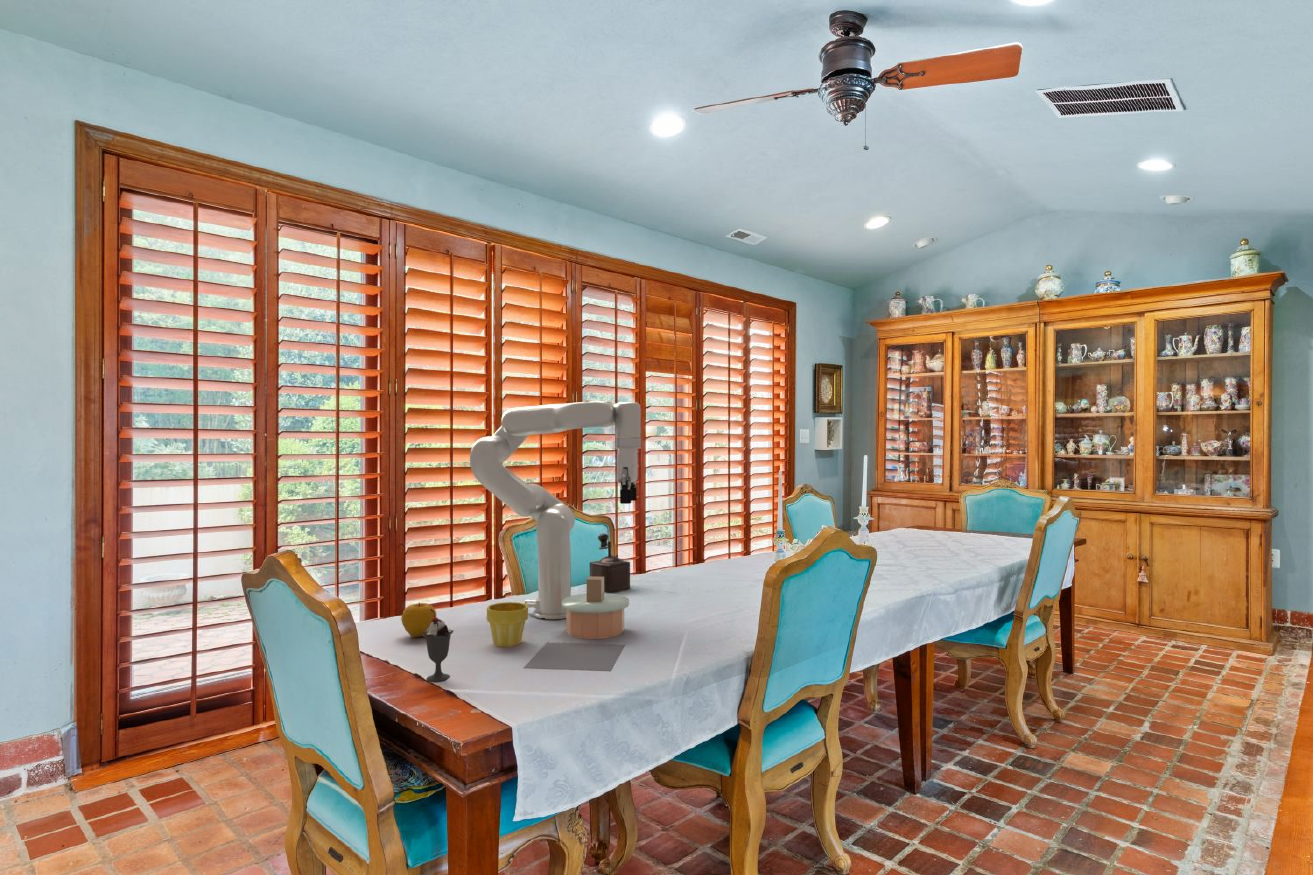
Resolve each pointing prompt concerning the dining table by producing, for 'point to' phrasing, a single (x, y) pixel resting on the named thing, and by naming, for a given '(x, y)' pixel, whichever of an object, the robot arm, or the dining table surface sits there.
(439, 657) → the sundae
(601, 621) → the bowl
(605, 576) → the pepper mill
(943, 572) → the dining table surface
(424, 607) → the apple
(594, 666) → the mat
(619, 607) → the lid
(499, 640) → the plant pot
